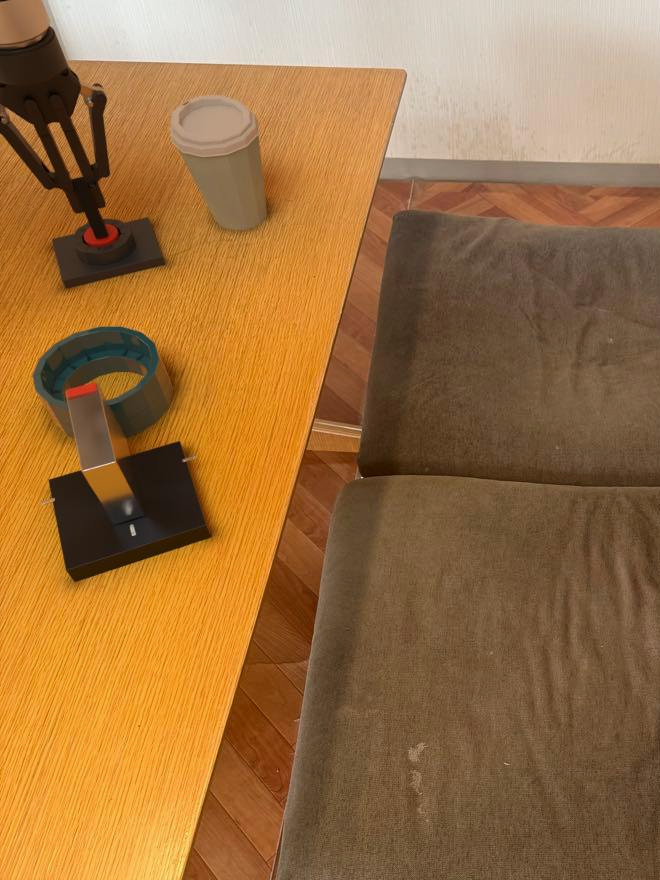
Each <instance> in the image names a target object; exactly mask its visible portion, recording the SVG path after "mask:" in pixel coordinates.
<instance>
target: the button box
mask: <svg viewBox="0 0 660 880" xmlns="http://www.w3.org/2000/svg"><path fill="white" fill-rule="evenodd" d="M149 217H150V216H147V217H146V216H145V217H142V218H138V219H133V220H129V221H125V222H123V220H120V219H118V218H117V219H115V218H103V221H104V223H105V224H109V225H113V226H114V227H116V229H117V230H118V233H119V235H120V237H119V238H118V240H117V241H115V242H113V243H112V244H110V245H107V246H102V247H92V246H88V245H87V244H86V241H85V239H84V233H85V232H86V231H87V230H88V229H89V228H91V226H90V224H89V222H88V221H87V222H86V223H85V224H83V225H82V226H79V227H78V228H76V230H75V231H74V233H72V234H68V235H63V236H58V237H54V238H51V242H52V246H53V250H54V255H55V258H56V262H57V266H58V267H57V268H58V271H59V274H60V278H61V282H62V285H63V286H64V288H65V290H67V289H72V288H76V287H80V286H85V285H89V284H93V283H96V282H101V281H104V280H105V281H106V280H110V279H112V278H116V277H117V278H118V277H121V276H126V275H129V274H134V273H137V272H142V271H146V270H150V269H155V268H159V267H163V266H166V261H165V259H164V257H163V253H162V251H161V248H160V245H159V242H158V240H157V239H158V238H157V236H156V234H155V231H154V227H153V225H152V223H151V220H150V218H149Z"/></svg>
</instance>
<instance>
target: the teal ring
mask: <svg viewBox="0 0 660 880" xmlns="http://www.w3.org/2000/svg"><path fill="white" fill-rule="evenodd" d="M113 373H133V374H135V375H138V376H143V377H142V378H141V379H140V381H139V382H138V383H136V385H135V386H134V387H132V388H131V389H129V390H127V391H125V392H123V393H122V394H120V395H118V396H116V397H113V398H110V399H106V400H107V402H108V404H109V406H110V408H111V410H112V411H113V413H114V415H115V417H116V419H117V421H118V423H119V425H120V427H121V429H122V431H123V433H124V435H125V437H126V439H129V438H132V437H135V436H137V435H139V434H141V433H143V432H144V431H146V430H147V429H149V428H150V427H152V426H154V425H156V424H157V423H158V422H159V420H161V418H162V417H163V416H164V414H166V412H167V411H168V410H169V408H170V407H171V403H172V400H173V396H174V388H173V385H172V381H171V378H170V375H169V373H168V370H167V368H166V366H165V363H164V360H163V359H162V356H161V354H160V352H159V349H158V347H157V345H156V342H154V341H153V340H152V339H150V338H149V336H147V335H146V334H145V333H143V332H142V331H138V330H135V329H132V328H128V327H126V326H121V325H120V326H96V327H92V328H89V329H84V330H81V331H76V332H74V333H71V334H70V335H68V336H66V337H64V338H63V339H60V340H59V341H57V342H55V343H54V344H53V345H51V346H50V347H49V349H47V350H46V351H45V352H44V353H43V354H42V355H41V356H40V357H39V359H38V361H37V363H36V365H35V367H34V370H33V373H32V380H33V386H34V390H35V393H36V394H37V396H38V398H39V400H40V401H41V402H42V404H43V406H44V408H45V409H46V411H47V413H48V415H49V416H50V418H51V420H52V421H53V423H54V425H55V426H56V427H57V428H59V429H60V431H62V432H63V433H64V434H65V435H66V436H67V437H68V438H72V439H75V436H74V431H73V426H72V422H71V417H70V412H69V407H68V402H67V397H66V392H65V391H66V390H68V389H71V388H75V387H79V386H83V385H87V384H89V383H90V382H92V381H94V380H95V379H97V378H99V377H102V376H106V375H109V374H113Z"/></svg>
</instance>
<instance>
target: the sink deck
mask: <svg viewBox="0 0 660 880" xmlns="http://www.w3.org/2000/svg"><path fill="white" fill-rule="evenodd" d="M130 455H131V459H132V463H133V467H134V471H135V475H136V479H137V483H138V487H139V491H140V495H141V499H142V503H143V507H144V512H145V515H144V516H141V517H138V518H135V519H131V520H128V521H125V522H121V523H118V524H115V525H114V524H113V523H112V521H111V519H110V518H109V516H108V514H107V513H106V511H105V509H104V508H103V506H102V504H101V503H100V501H99V499H98V498H97V496H96V494H95V493H94V491H93V489H92V488H91V486H90V485H89V483H88V481H87V480H86V478H85V476H84V475H83V473H82V470H81V469H80V470H76V471H72V472H69V473H65V474H63V475H60V476H56V477H52V478H49V479H48V485H49V490H50V497H51V498H50V499H46V500H43V501H40V502H39V506H45V505H49V504H52V506H53V510H54V514H55V521H56V526H57V531H58V536H59V542H60V547H61V552H62V557H63V563H64V567H65V572H67V574H68V575H69V577H70V578H71V579H72V581H73V582H74V583H78V582H81V581H84V580H86V579H89V578H93V577H95V576H99V575H101V574H105V573H109V572H110V571H111V572H112V571H114V570H117V569H120V568H123V567H126V566H129V565H132V564H135V563H139V562H142V561H144V560H148V559H151V558H154V557H156V556H161V555H163V554H165V553H169V552H172V551H176V550H179V549H181V548H184V547H187V546H190V545H193V544H197V543H199V542H203V541H205V540H208V539H211V538H213V536H212V534H211V530H210V527H209V523H208V521H207V517H206V514H205V511H204V508H203V504H202V500H201V498H200V494H199V492H198V489H197V486H196V482H195V478H194V476H193V472H192V470H191V466H190V463H189V462H191V461H194V460H197V459H198V456H197V455H192V456H189V457H187V454H186V452H185V449H184V447H183V445H182V442H181V441H180V440H178V441H174V442H171V443H167V444H164V445H161V446H158V447H154V448H151V449H148V450H147V449H146V450H143V451H139V452H137V453H133V454H130Z"/></svg>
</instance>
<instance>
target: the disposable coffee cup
mask: <svg viewBox="0 0 660 880" xmlns="http://www.w3.org/2000/svg"><path fill="white" fill-rule="evenodd" d="M170 117H171V119H170V120H171V121H170V131H169V132H170V133H169V136H170V140H171V143H172V144H173V145H174V147H176V148H177V151H178V152H179V154H180V156H181V158H182V160H183V162H184V164H185V165H186V167H187V169H188V171H189V173H190V175H191V177H192V179H193V181H194V183H195V185H196V186H197V188H198V190H199V192H200V194H201V197H202V198H203V200H204V202H205V203H206V206H207V207H208V210H209V212H210V213H211V215H212V218H213V219H214V221H215V222H216V223H217V224H218V225H219V226H220V227H221V228H223V229H227V230H230V231H244V230H245V231H246V230H249V229H252V228H255V227H257V226H259V225H261V224H262V223H263V222H264V221H265V220H266V218H267V217H268V209H267V199H266V190H265V182H264V173H263V172H264V171H263V164H262V156H261V155H262V154H261V145H260V138H259V136H260V131H259V123H260V122H259V121H258V119H257V115H256V114H255V113H254V112H252V110H250V109H249V108H248V107H247V106H246V105H244V104H243V102H242V101H240V100H238V99H235V98H232V97H228V96H225V95H222V94H200V95H198V96H196V97H192V98H190V99H187V100H185V101H184V102H182V103H181V104H179V105H178V106H177V107H176V108H174V110H173V111H171V116H170Z"/></svg>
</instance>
